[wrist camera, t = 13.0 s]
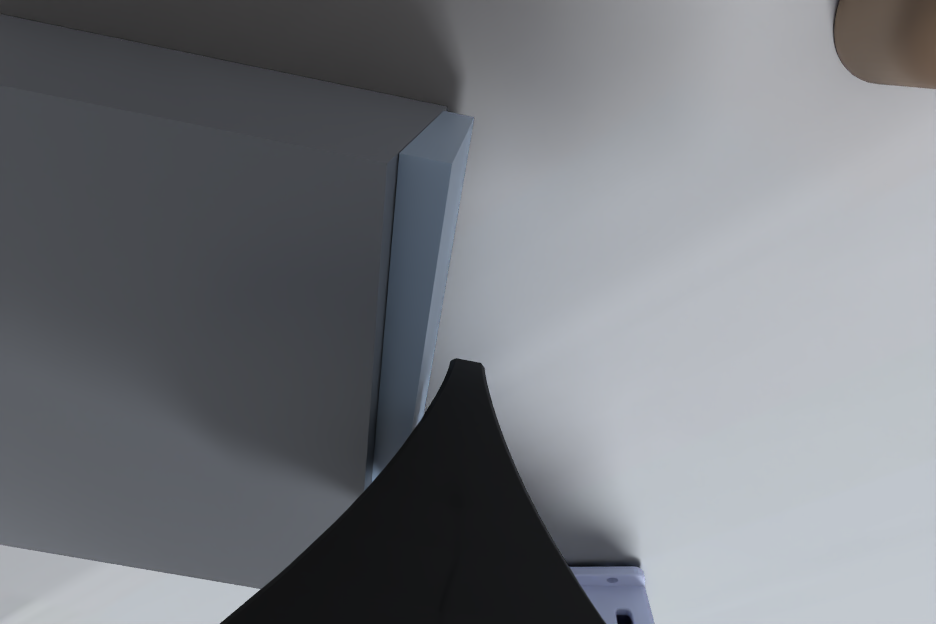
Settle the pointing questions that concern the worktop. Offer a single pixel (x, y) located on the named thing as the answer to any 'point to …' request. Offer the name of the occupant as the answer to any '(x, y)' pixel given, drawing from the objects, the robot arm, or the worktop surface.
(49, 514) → the box
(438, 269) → the tray
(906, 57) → the post
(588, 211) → the worktop surface
